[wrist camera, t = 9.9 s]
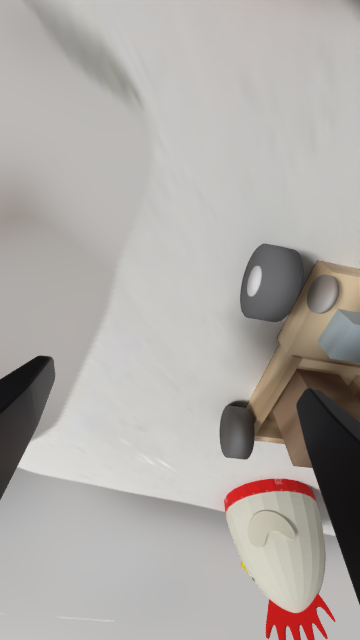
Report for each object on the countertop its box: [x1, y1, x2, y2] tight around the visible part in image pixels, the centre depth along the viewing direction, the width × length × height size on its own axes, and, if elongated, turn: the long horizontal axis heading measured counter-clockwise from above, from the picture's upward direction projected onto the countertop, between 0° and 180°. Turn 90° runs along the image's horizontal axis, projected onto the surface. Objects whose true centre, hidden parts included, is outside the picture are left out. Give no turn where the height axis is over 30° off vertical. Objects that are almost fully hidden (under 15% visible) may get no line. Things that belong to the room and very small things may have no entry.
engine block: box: [272, 368, 360, 468], centre depth 23 cm, size 4×6×7 cm
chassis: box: [220, 260, 360, 459], centre depth 22 cm, size 14×21×5 cm
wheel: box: [240, 244, 303, 322], centre depth 16 cm, size 2×5×5 cm, turn 168°
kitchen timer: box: [224, 479, 335, 640], centre depth 34 cm, size 14×14×15 cm
